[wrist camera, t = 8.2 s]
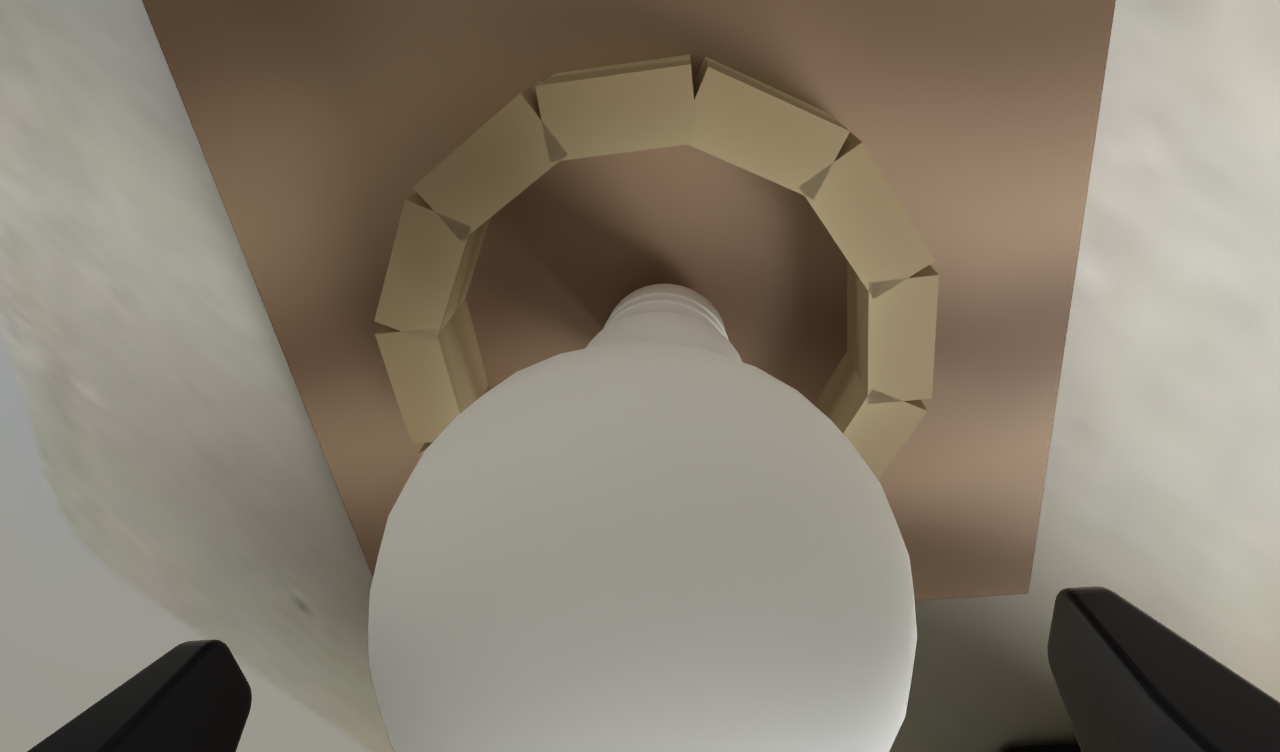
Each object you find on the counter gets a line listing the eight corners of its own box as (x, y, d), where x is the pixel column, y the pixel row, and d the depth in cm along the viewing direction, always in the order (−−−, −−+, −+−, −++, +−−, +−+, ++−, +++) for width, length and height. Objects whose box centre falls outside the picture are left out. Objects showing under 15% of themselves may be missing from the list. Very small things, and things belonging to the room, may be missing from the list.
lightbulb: (506, 408, 17) (251, 972, 7) (553, 146, 14) (233, 501, 4) (759, 470, 17) (838, 1088, 8) (855, 225, 14) (1183, 720, 5)
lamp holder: (1012, 566, 19) (1063, 657, 17) (406, 603, 21) (367, 690, 19) (1117, -237, 12) (1243, -302, 9) (150, -67, 14) (21, -81, 11)
